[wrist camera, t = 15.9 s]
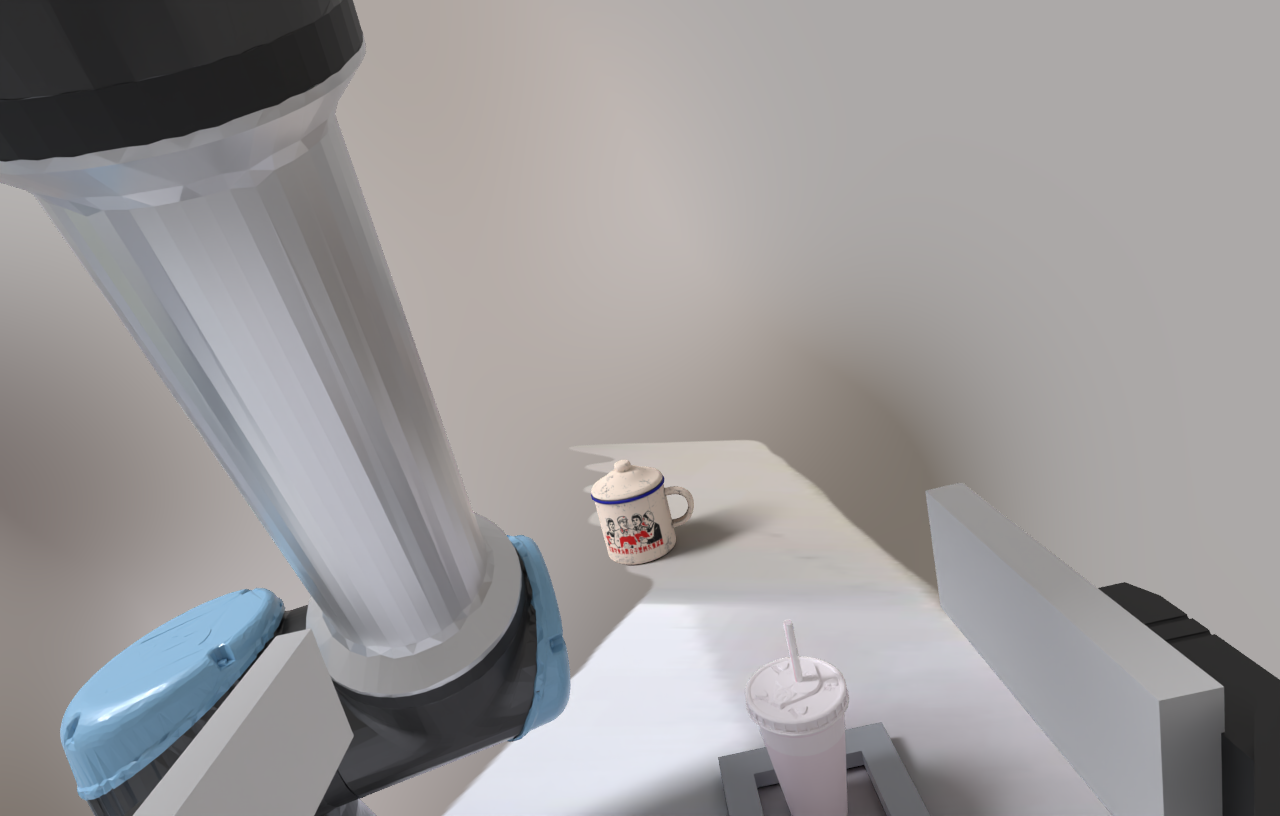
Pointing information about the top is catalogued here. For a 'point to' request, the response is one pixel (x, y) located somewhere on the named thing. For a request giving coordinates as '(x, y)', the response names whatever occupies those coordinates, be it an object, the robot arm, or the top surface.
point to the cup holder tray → (861, 749)
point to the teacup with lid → (637, 513)
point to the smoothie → (803, 729)
